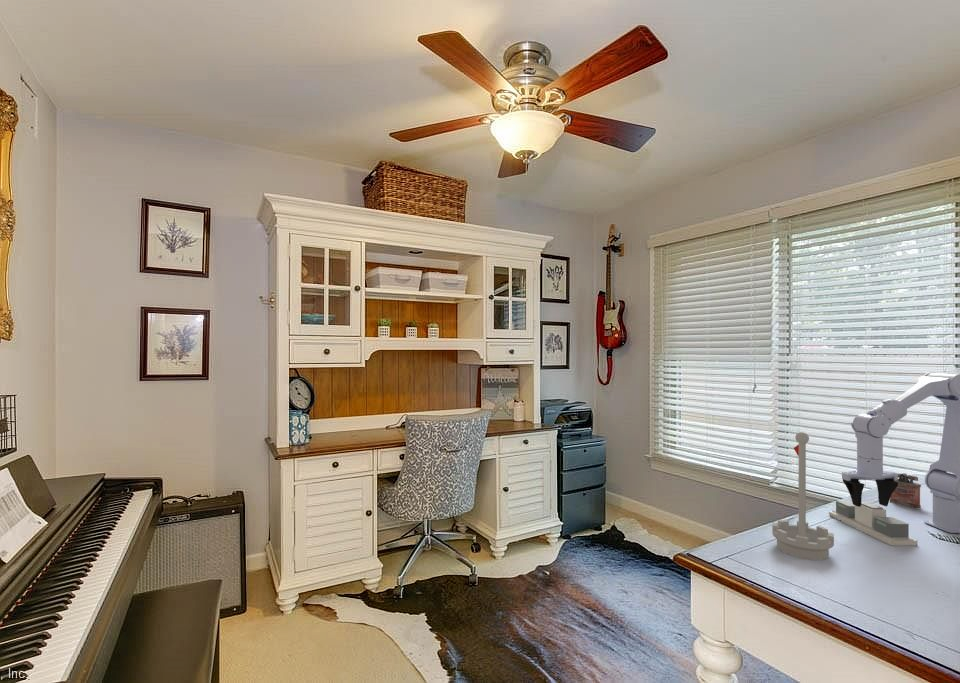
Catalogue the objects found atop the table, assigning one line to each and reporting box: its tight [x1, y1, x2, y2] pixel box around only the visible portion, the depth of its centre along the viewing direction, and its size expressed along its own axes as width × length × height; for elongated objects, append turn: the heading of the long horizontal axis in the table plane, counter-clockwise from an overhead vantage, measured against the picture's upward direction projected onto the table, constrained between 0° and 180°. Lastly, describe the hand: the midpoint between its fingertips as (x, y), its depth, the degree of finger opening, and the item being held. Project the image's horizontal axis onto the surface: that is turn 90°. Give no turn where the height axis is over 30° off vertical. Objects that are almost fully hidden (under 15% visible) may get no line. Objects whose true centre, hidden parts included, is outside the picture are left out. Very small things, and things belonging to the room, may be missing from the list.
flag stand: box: [771, 431, 835, 561], centre depth 124 cm, size 13×13×30 cm
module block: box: [855, 501, 887, 528], centre depth 137 cm, size 4×6×5 cm, turn 1°
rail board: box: [828, 499, 918, 546], centre depth 138 cm, size 7×22×5 cm, turn 1°
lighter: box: [889, 472, 922, 510], centre depth 158 cm, size 8×3×10 cm, turn 25°
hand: (870, 505), depth 138 cm, fingers open, 7 cm apart
